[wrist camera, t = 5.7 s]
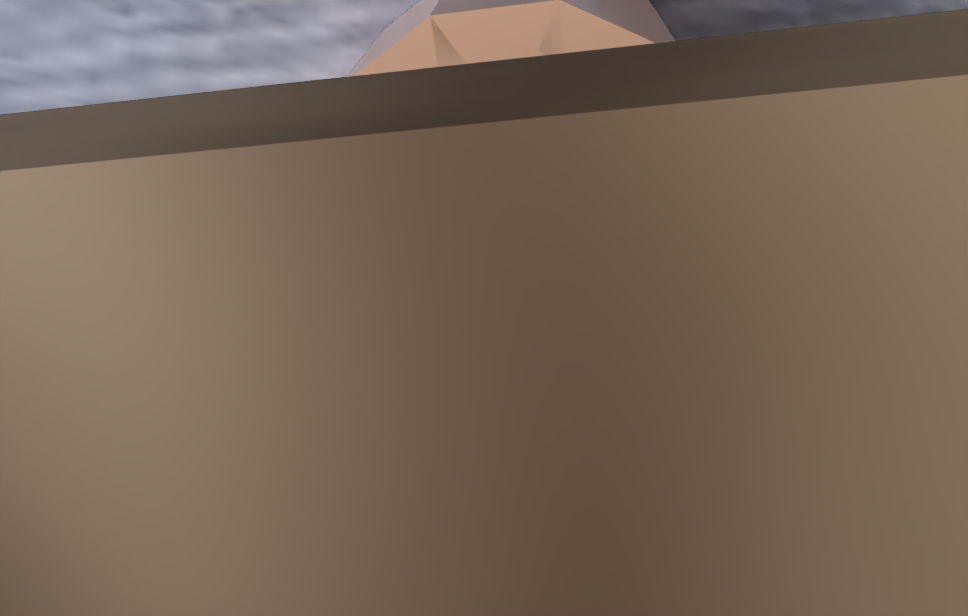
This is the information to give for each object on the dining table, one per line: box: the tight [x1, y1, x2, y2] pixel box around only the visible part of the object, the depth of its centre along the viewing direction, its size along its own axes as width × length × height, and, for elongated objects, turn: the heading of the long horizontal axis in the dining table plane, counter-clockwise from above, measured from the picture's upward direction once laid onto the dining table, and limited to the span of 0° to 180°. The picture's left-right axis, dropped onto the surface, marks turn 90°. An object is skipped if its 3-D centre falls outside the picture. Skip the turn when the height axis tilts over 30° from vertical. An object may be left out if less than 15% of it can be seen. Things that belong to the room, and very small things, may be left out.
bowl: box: [347, 0, 676, 77], centre depth 22 cm, size 9×9×6 cm
